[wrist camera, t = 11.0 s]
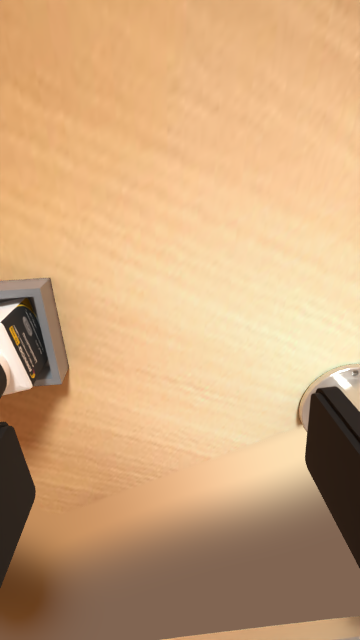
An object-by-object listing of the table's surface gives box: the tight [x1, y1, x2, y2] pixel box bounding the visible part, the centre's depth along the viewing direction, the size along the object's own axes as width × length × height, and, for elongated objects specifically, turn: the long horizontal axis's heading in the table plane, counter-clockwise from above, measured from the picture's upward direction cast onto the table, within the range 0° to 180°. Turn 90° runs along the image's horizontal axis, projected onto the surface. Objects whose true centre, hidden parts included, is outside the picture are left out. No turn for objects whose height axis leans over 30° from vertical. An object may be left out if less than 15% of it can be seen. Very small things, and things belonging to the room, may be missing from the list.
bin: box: [0, 278, 69, 386], centre depth 35 cm, size 11×11×4 cm
